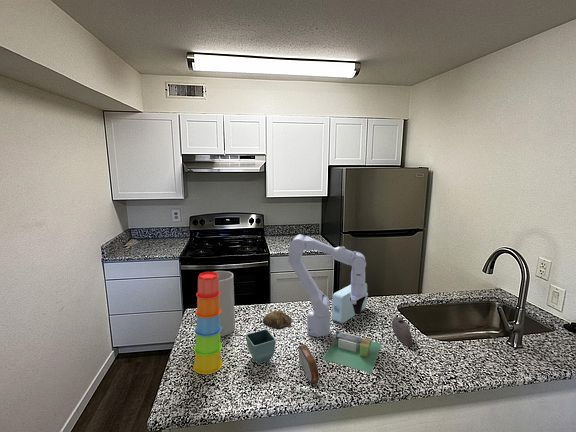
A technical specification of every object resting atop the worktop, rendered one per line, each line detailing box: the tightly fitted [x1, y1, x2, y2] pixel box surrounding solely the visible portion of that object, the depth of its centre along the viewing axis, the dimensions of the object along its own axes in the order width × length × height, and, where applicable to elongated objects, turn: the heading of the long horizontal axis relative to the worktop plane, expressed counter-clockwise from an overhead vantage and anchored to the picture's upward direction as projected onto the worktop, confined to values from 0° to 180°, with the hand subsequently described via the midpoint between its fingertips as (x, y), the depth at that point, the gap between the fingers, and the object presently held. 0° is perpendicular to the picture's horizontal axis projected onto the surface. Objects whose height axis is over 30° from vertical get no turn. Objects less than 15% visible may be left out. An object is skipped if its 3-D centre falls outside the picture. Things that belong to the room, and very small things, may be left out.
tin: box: [297, 344, 320, 385], centre depth 106 cm, size 15×3×8 cm, turn 15°
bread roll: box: [262, 310, 293, 329], centre depth 143 cm, size 13×12×5 cm
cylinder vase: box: [214, 270, 236, 337], centre depth 134 cm, size 12×12×25 cm
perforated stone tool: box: [391, 316, 413, 348], centre depth 127 cm, size 15×5×7 cm, turn 179°
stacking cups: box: [192, 271, 224, 375], centre depth 109 cm, size 10×10×35 cm
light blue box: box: [331, 282, 368, 324], centre depth 149 cm, size 23×6×13 cm, turn 137°
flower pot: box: [245, 328, 277, 365], centre depth 115 cm, size 9×9×9 cm
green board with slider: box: [322, 329, 383, 374], centre depth 118 cm, size 18×20×4 cm
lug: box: [360, 337, 372, 358], centre depth 117 cm, size 3×6×4 cm, turn 153°
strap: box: [333, 331, 373, 345], centre depth 121 cm, size 15×4×1 cm, turn 63°
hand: (357, 313), depth 129 cm, fingers closed
